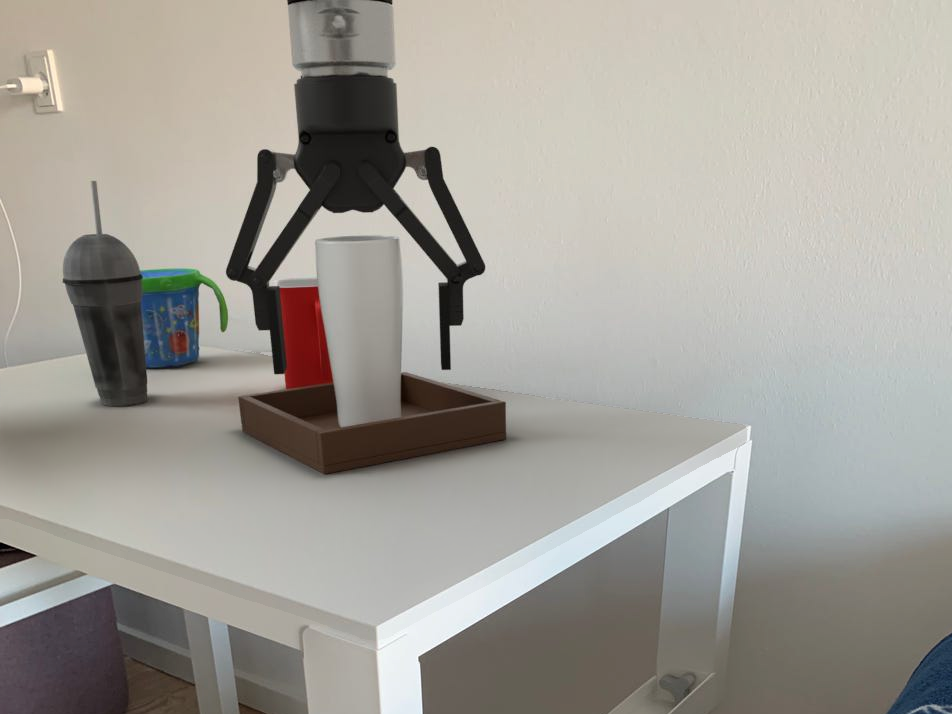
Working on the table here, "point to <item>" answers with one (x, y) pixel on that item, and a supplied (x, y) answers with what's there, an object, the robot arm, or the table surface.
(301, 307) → the mug
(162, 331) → the snack cup
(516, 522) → the table surface
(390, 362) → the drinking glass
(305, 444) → the serving tray
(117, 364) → the beverage cup
